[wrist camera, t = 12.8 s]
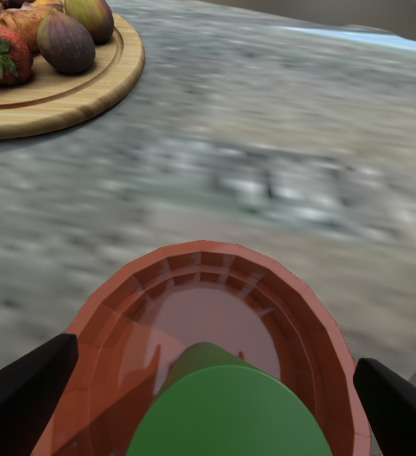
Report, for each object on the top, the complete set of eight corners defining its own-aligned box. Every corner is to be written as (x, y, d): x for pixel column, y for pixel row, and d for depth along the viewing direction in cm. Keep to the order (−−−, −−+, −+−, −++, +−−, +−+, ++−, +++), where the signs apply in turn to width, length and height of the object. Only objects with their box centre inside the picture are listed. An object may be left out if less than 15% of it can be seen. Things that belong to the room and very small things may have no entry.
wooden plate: (-73, 20, 36) (-140, -63, 29) (131, 11, 42) (118, -60, 35) (-159, 169, 22) (-333, 80, 15) (165, 123, 28) (156, 44, 21)
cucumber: (246, 373, 16) (426, 512, 4) (206, 433, 14) (276, 1010, 2) (202, 329, 17) (223, 319, 5) (159, 380, 15) (27, 562, 3)
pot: (351, 364, 17) (416, 370, 12) (213, 649, 11) (230, 899, 6) (197, 234, 21) (199, 200, 16) (37, 386, 15) (-37, 404, 10)
